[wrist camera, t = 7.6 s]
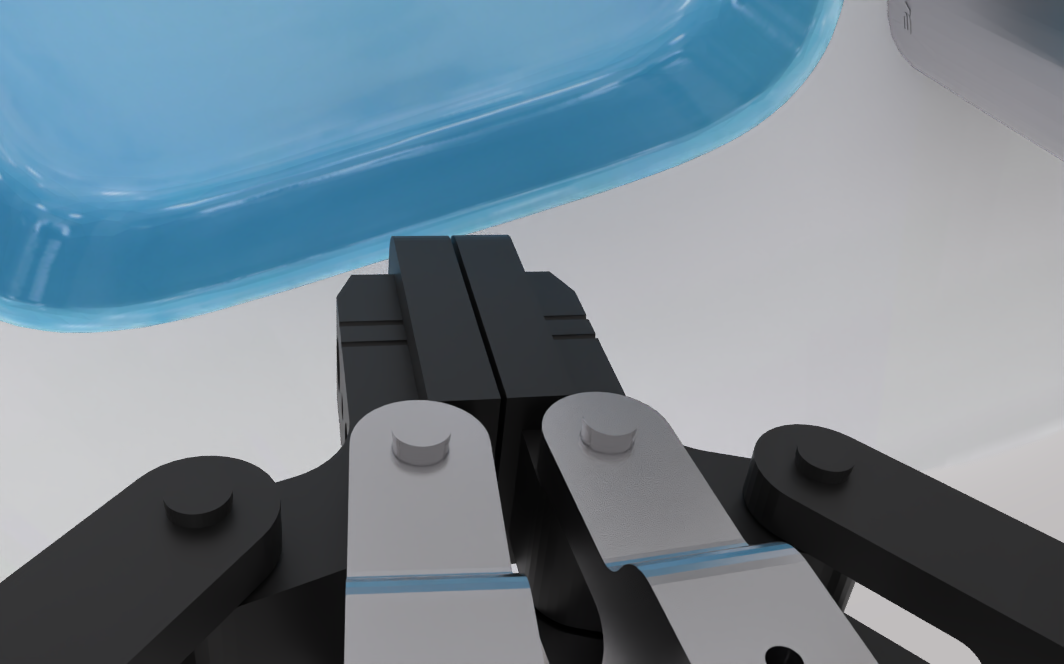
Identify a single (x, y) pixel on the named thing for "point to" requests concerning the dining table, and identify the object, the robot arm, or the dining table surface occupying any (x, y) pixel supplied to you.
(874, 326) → the dining table surface
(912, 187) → the dining table surface
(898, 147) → the dining table surface
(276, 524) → the robot arm
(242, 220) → the casserole dish
